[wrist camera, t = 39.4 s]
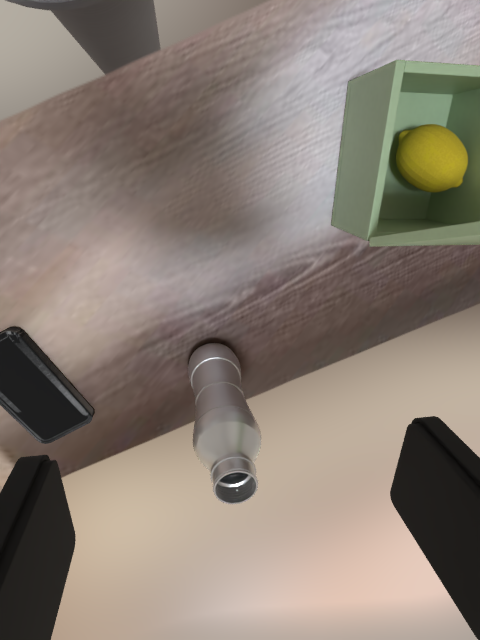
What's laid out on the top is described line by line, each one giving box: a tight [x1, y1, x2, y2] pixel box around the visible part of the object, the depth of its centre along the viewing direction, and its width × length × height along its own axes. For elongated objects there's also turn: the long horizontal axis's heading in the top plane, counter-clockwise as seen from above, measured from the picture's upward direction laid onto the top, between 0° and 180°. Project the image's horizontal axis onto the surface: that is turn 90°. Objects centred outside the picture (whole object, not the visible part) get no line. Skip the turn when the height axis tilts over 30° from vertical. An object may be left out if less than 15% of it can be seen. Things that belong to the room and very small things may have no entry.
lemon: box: [396, 124, 468, 193], centre depth 36 cm, size 6×6×8 cm
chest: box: [331, 60, 480, 241], centre depth 36 cm, size 14×12×9 cm
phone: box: [0, 327, 94, 444], centre depth 43 cm, size 8×1×15 cm
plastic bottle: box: [188, 343, 261, 504], centre depth 37 cm, size 6×7×20 cm
